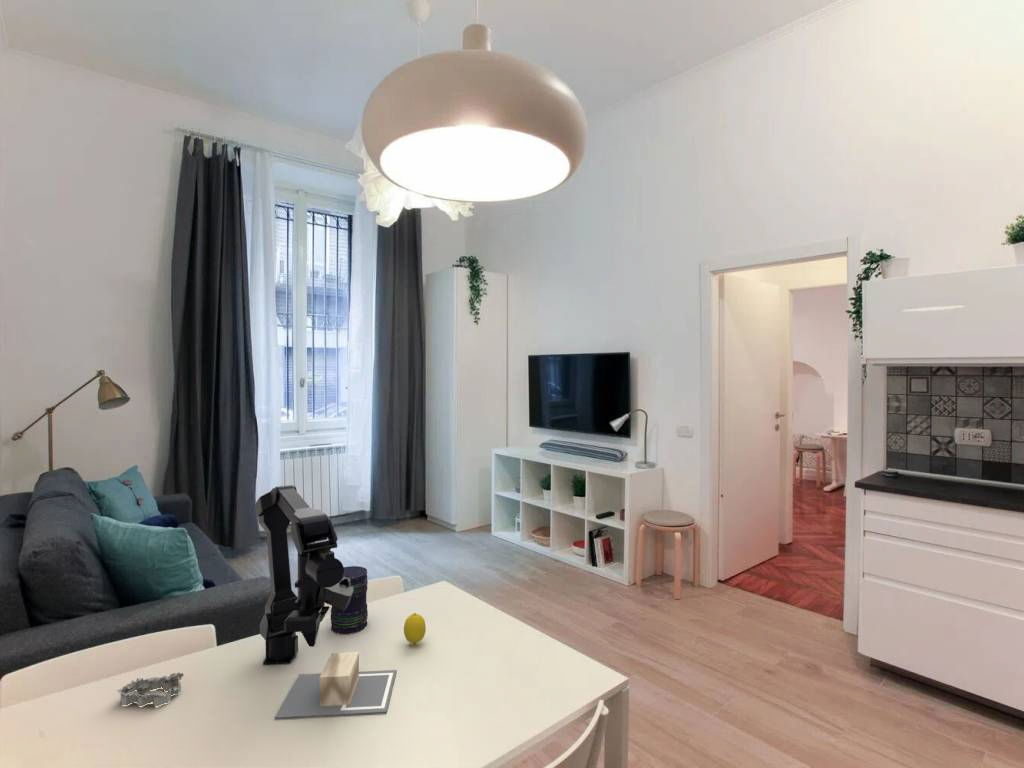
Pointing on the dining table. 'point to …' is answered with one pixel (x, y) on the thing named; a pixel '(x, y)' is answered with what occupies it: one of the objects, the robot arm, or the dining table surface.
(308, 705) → the mat
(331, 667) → the block
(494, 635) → the dining table surface
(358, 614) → the storage jar
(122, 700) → the egg carton
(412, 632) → the lemon
